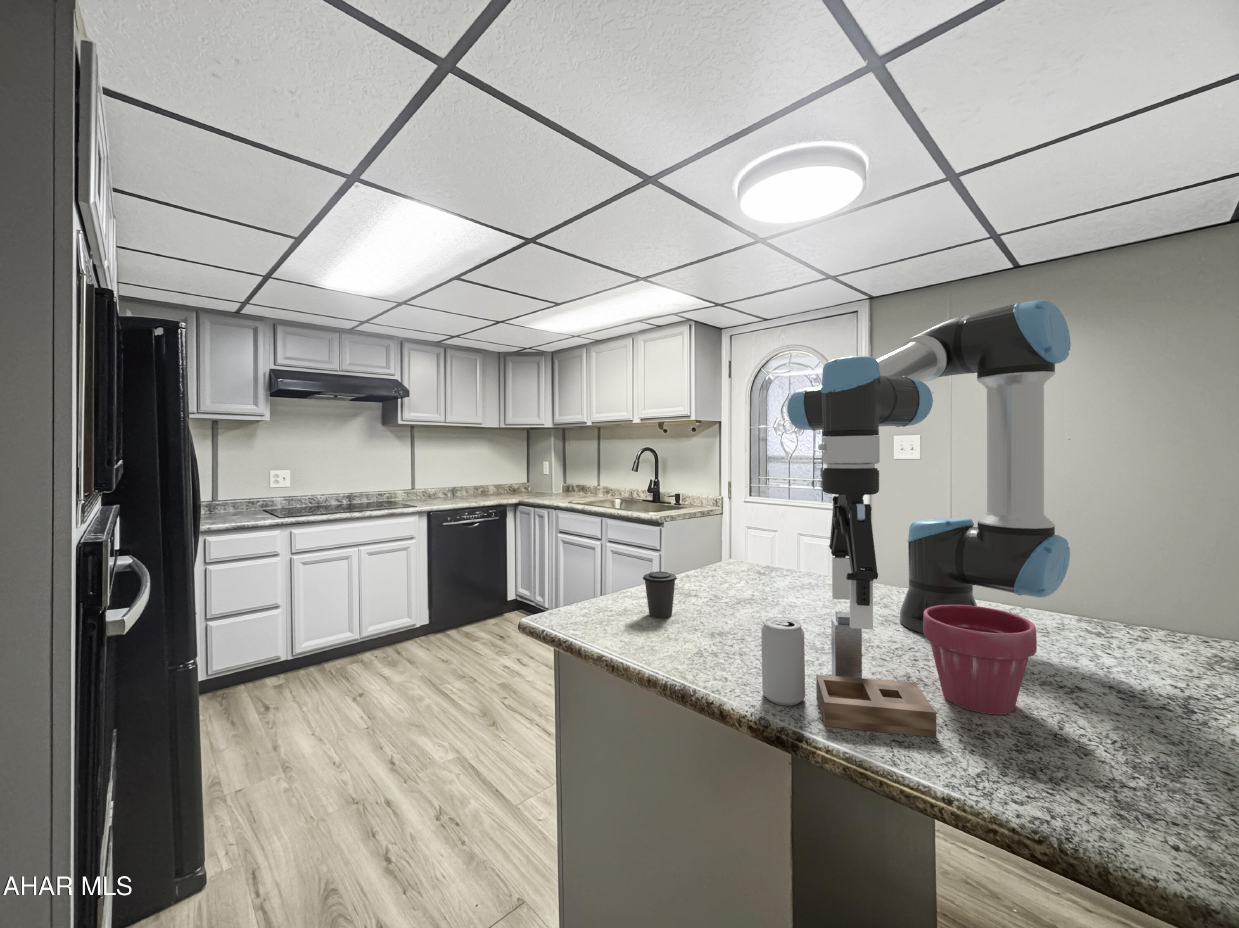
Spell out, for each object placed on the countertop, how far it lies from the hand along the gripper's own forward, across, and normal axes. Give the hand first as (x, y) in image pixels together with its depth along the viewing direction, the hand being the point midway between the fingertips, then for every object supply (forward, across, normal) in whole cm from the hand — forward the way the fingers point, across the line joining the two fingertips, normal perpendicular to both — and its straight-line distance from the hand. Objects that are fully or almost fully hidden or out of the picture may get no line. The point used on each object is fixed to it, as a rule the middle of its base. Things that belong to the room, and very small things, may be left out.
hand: (850, 612), depth 75 cm
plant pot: (+15, -8, +19) cm, 26 cm away
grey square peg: (+15, -11, +2) cm, 19 cm away
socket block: (+15, 0, +3) cm, 15 cm away
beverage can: (+15, -3, -9) cm, 18 cm away
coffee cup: (+15, -40, -34) cm, 55 cm away
